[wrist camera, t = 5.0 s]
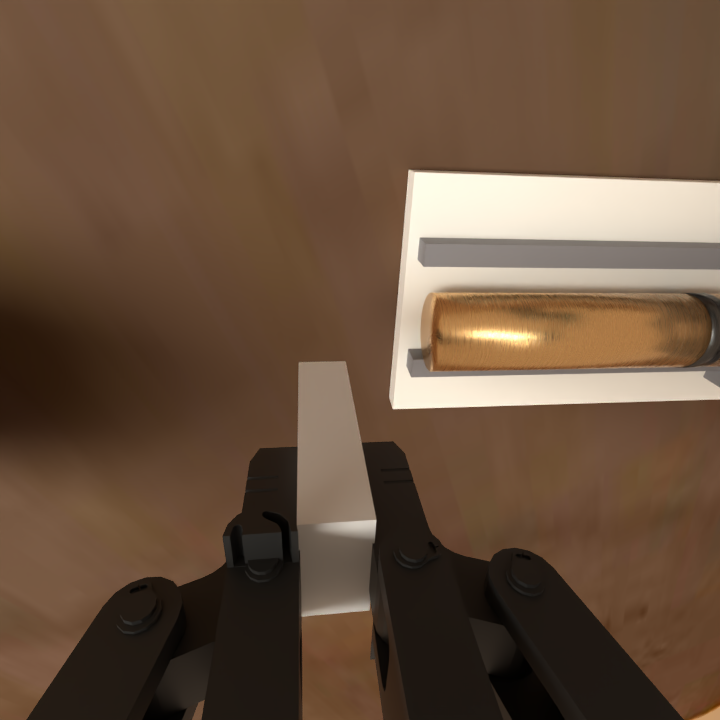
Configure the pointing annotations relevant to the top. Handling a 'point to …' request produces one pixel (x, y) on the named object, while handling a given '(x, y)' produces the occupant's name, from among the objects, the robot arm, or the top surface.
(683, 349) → the tube
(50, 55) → the top surface
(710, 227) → the white grey flat rack
